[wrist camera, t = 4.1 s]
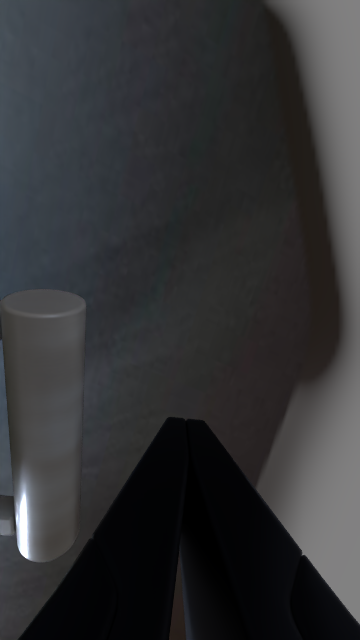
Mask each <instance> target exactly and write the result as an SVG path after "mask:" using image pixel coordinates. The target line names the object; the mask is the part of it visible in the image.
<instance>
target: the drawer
mask: <svg viewBox="0 0 360 640" xmlns="http://www.w3.org/2000/svg"><path fill="white" fill-rule="evenodd" d="M85 337H86V303H85V300H84V299H83V298H82V297H80V296H78V295H76V294H73V293H70V292H66V291H61V290H52V289H33V290H25V291H20V292H16V293H12V294H10V295H7V296H6V297H4V298H3V299H2V300H0V340H1V339H2V341H3V355H4V369H5V382H6V396H7V410H8V424H9V437H10V451H11V465H12V479H13V492H14V496H3V495H0V535H10V536H11V535H13V534H14V533H15V531H16V534H17V545H18V548H19V551H20V552H21V554H22V555H23V556H24V557H26V558H27V559H29V560H31V561H34V562H47V561H51V560H54V559H56V558H58V557H60V556H61V555H63V554H64V553H66V552H67V551H68V550H69V549H70V548H71V546H72V545H73V544H74V542H75V540H76V538H77V536H78V534H79V528H80V499H81V467H82V434H83V402H84V369H85Z"/></svg>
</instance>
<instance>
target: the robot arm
mask: <svg viewBox="0 0 360 640" xmlns="http://www.w3.org/2000/svg"><path fill="white" fill-rule="evenodd" d="M179 549H180V563H181V576H182V589H183V602H184V615H185V629H186V640H360V624H359V623H358V622H357V621H356V619H355V618H354V617H353V616H352V615H351V614H350V612H349V611H348V610H347V609H346V607H345V606H344V605H343V603H342V602H341V601H340V600H339V598H338V597H337V596H336V595H335V593H334V592H333V591H332V589H331V588H330V587H329V585H328V584H327V583H326V582H325V580H324V579H323V578H322V577H321V575H320V574H319V573H318V571H317V570H316V569H315V567H314V566H313V565H312V563H311V562H310V561H309V559H308V558H307V557H306V556H305V555H302V550H301V549H300V548H299V546H298V545H297V544H296V542H295V541H294V540H293V538H292V537H291V536H290V534H289V533H288V532H287V530H286V529H285V528H284V526H283V525H282V524H281V522H280V521H279V520H278V518H277V517H276V516H275V514H274V513H273V512H272V510H271V509H270V508H269V506H268V505H267V504H266V502H265V501H264V500H263V498H262V497H261V496H260V494H259V493H258V492H257V490H256V489H255V488H254V486H253V485H252V484H251V482H250V481H249V480H248V478H247V477H246V476H245V474H244V473H243V472H242V470H241V469H240V468H239V466H238V465H237V464H236V462H235V461H234V460H233V458H232V457H231V456H230V454H229V453H228V452H227V450H226V449H225V448H224V446H223V445H222V444H221V442H220V441H219V440H218V438H217V437H216V436H215V434H214V433H213V432H212V430H211V429H210V428H209V426H208V425H207V424H206V423H205V422H204V421H203V420H195V419H187V420H186V421H185V419H183V418H175V417H168V418H167V419H166V421H165V422H164V424H163V425H162V427H161V428H160V430H159V432H158V433H157V435H156V436H155V438H154V439H153V441H152V442H151V444H150V446H149V447H148V449H147V450H146V452H145V453H144V455H143V456H142V458H141V460H140V461H139V463H138V464H137V466H136V467H135V469H134V471H133V472H132V474H131V475H130V477H129V478H128V480H127V481H126V483H125V485H124V486H123V488H122V489H121V491H120V492H119V494H118V496H117V497H116V499H115V500H114V502H113V503H112V505H111V506H110V508H109V510H108V511H107V513H106V514H105V516H104V517H103V519H102V520H101V522H100V524H99V525H98V527H97V528H96V530H95V531H94V533H93V535H92V538H91V539H89V540H88V542H87V543H86V545H85V547H84V548H83V550H82V551H81V553H80V554H79V556H78V557H77V559H76V561H75V562H74V563H73V565H72V566H71V568H70V569H69V571H68V572H67V574H66V575H65V577H64V578H63V580H62V581H61V582H60V584H59V585H58V587H57V588H56V590H55V591H54V593H53V594H52V595H51V597H50V598H49V599H48V601H47V602H46V603H45V605H44V606H43V607H42V609H41V610H40V611H39V613H38V614H37V615H36V616H35V618H34V619H33V620H32V622H31V623H30V624H29V626H28V627H27V628H26V630H25V631H24V632H23V634H22V635H21V636H20V637H19V639H18V640H169V633H170V625H171V616H172V608H173V599H174V590H175V582H176V573H177V564H178V556H179Z"/></svg>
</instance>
